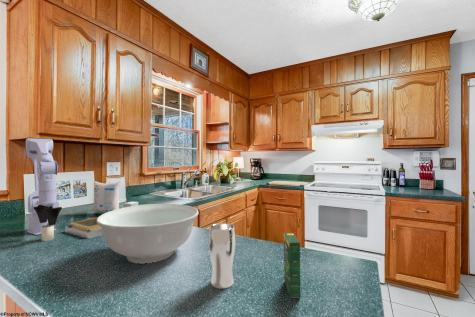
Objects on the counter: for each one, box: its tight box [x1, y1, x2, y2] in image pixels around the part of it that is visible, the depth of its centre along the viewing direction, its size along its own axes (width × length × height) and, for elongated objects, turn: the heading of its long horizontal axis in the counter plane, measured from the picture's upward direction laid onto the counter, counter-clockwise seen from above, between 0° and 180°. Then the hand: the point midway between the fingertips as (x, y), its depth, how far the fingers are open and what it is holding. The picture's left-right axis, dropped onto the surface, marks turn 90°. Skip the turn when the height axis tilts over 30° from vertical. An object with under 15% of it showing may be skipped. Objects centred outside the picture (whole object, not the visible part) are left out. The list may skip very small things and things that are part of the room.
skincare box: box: [122, 201, 139, 208], centre depth 116 cm, size 6×4×12 cm
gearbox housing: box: [64, 216, 103, 239], centre depth 110 cm, size 18×15×4 cm
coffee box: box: [283, 232, 301, 299], centre depth 60 cm, size 8×3×13 cm, turn 178°
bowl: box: [97, 203, 199, 265], centre depth 83 cm, size 32×32×15 cm
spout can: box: [41, 224, 55, 242], centre depth 99 cm, size 4×4×7 cm
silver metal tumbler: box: [208, 222, 236, 290], centre depth 63 cm, size 7×7×15 cm
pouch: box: [92, 180, 121, 214], centre depth 142 cm, size 8×19×20 cm, turn 69°
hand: (47, 223), depth 99 cm, fingers open, 7 cm apart
